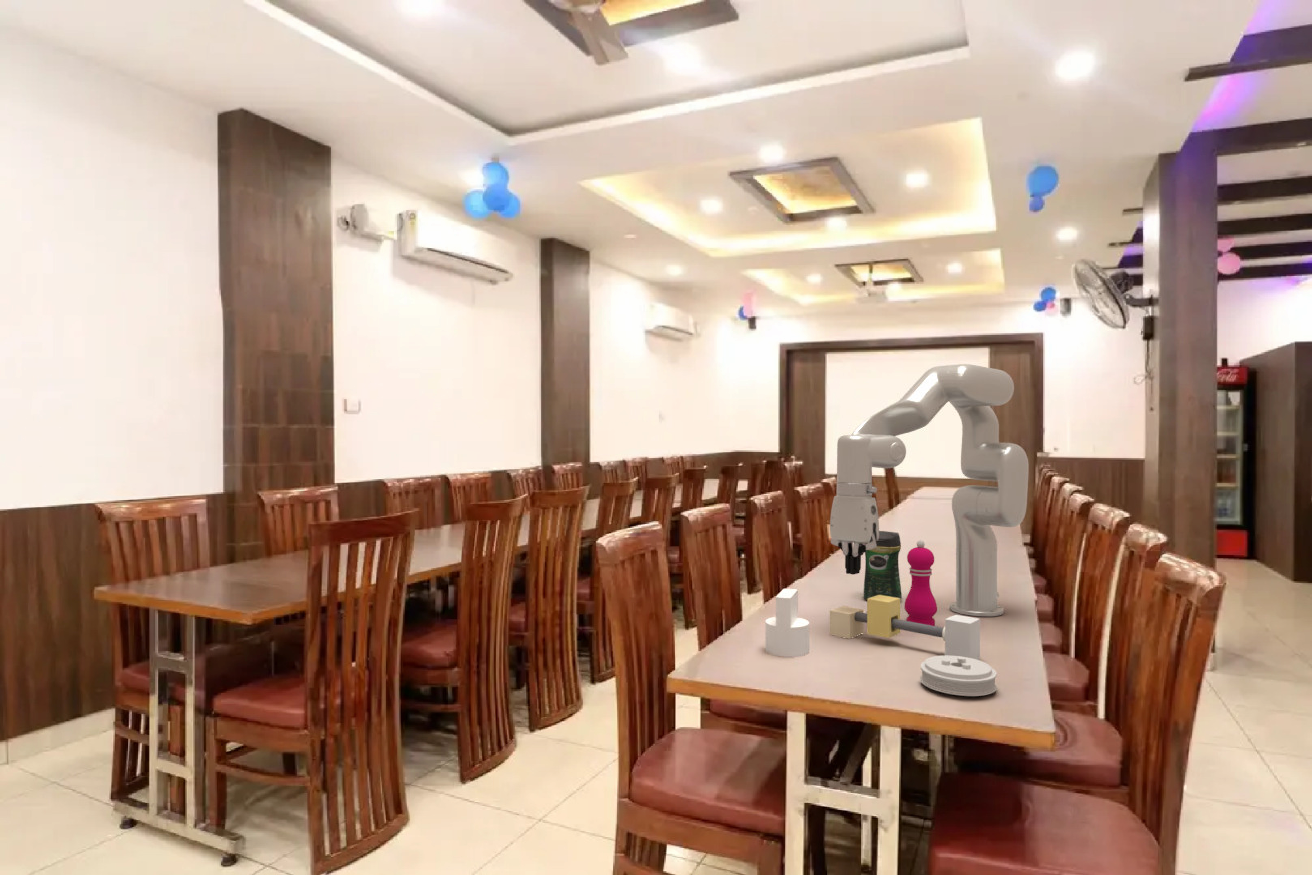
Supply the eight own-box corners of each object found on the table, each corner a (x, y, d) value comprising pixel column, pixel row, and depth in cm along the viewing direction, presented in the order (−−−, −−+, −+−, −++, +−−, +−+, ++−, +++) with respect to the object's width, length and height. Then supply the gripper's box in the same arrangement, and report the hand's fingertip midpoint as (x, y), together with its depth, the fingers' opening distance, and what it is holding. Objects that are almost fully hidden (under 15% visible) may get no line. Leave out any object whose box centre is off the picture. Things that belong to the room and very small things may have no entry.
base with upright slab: (805, 658, 152) (805, 599, 152) (761, 654, 155) (761, 596, 155) (812, 646, 161) (812, 590, 160) (770, 642, 164) (770, 587, 164)
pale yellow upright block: (878, 628, 167) (878, 594, 167) (900, 633, 163) (900, 598, 163) (867, 633, 163) (867, 598, 163) (888, 638, 160) (888, 602, 160)
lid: (985, 678, 140) (985, 651, 140) (1005, 703, 128) (1005, 674, 128) (914, 675, 142) (914, 648, 142) (927, 699, 130) (927, 670, 130)
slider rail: (843, 629, 173) (843, 594, 173) (980, 657, 152) (980, 618, 152) (829, 634, 169) (829, 599, 169) (969, 664, 148) (969, 624, 148)
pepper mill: (939, 630, 172) (939, 543, 172) (906, 629, 173) (906, 542, 173) (934, 622, 179) (934, 538, 179) (902, 621, 181) (902, 537, 180)
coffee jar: (904, 599, 203) (904, 530, 203) (896, 605, 196) (896, 534, 196) (868, 595, 208) (868, 528, 208) (859, 601, 202) (859, 531, 201)
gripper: (893, 492, 165) (892, 575, 165) (833, 488, 176) (832, 566, 176) (876, 493, 160) (875, 580, 160) (815, 489, 170) (814, 570, 170)
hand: (852, 573), depth 168 cm, fingers closed
